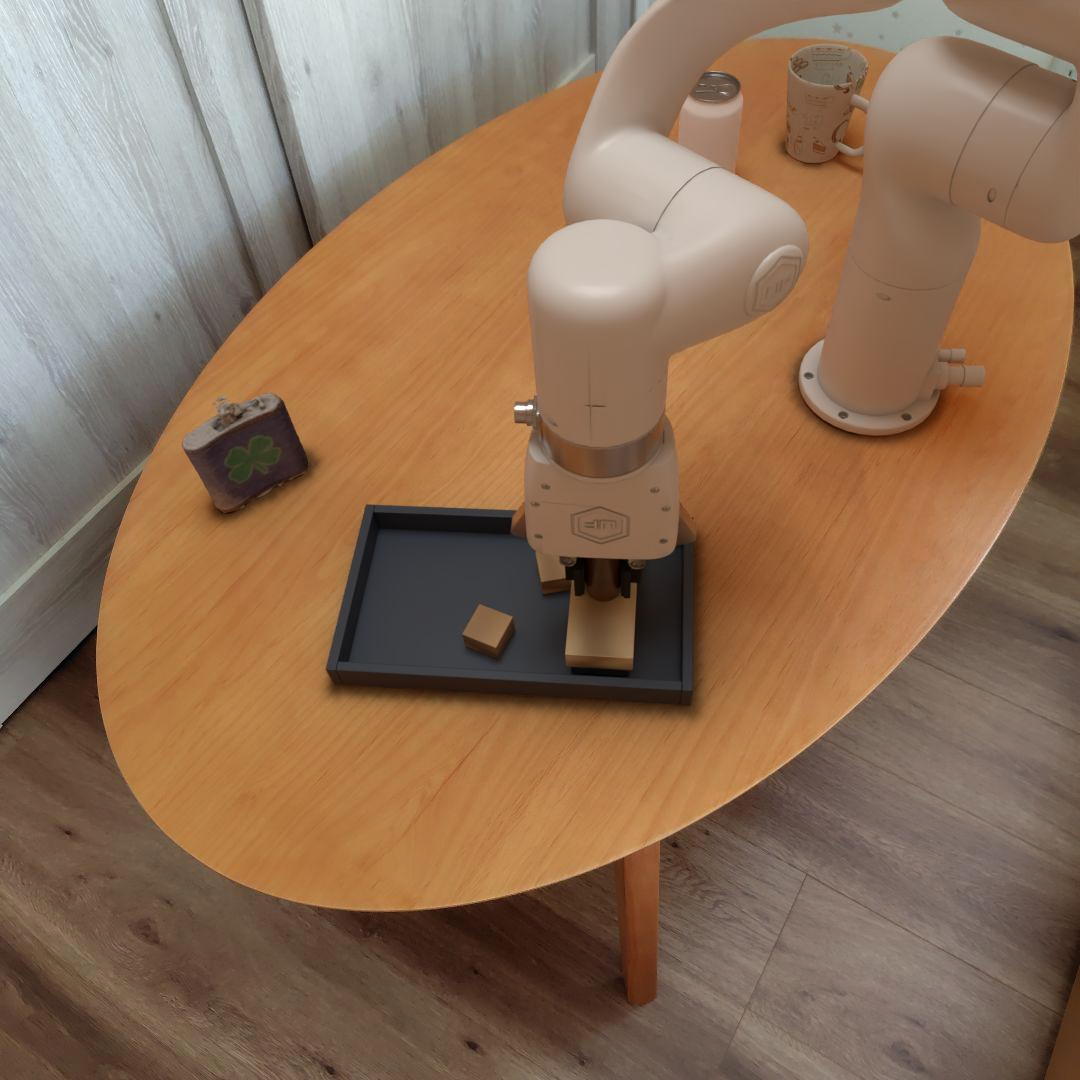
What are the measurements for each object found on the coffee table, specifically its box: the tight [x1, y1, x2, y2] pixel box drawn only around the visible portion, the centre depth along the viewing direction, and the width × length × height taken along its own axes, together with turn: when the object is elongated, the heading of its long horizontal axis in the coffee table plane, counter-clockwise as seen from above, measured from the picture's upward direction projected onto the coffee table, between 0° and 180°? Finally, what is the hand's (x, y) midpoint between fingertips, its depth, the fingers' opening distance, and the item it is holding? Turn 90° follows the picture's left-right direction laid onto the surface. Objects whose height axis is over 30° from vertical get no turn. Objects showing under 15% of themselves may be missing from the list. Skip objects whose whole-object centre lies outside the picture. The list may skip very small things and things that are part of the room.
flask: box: [181, 392, 311, 514], centre depth 82 cm, size 9×3×11 cm, turn 125°
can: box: [677, 70, 744, 174], centre depth 101 cm, size 6×6×12 cm
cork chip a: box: [535, 551, 572, 594], centre depth 77 cm, size 3×3×2 cm
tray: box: [325, 503, 695, 707], centre depth 76 cm, size 28×16×3 cm, turn 85°
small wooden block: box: [462, 604, 515, 659], centre depth 74 cm, size 3×3×2 cm
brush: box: [565, 557, 637, 676], centre depth 71 cm, size 5×12×10 cm, turn 174°
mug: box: [785, 43, 870, 164], centre depth 104 cm, size 8×13×10 cm, turn 43°
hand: (603, 579), depth 72 cm, fingers closed on brush, 2 cm apart
